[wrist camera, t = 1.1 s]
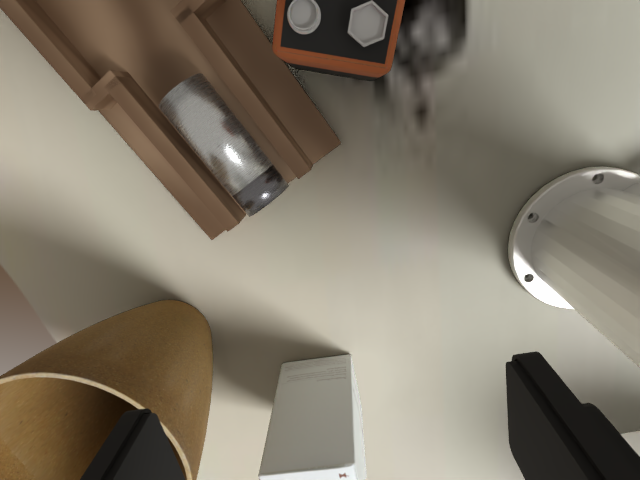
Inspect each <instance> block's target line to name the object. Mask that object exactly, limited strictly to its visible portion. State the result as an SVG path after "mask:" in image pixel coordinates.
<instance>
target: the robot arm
mask: <svg viewBox="0 0 640 480" xmlns="http://www.w3.org/2000/svg"><path fill="white" fill-rule="evenodd" d="M593 176H594V177H593ZM530 214H531V216H530V217H528V216H529V215H530ZM508 257H509V262H510V266H511V269H512V272H513V273H514V275H515V277H516V279H517V281H518V282H519V283H520V284H521V285H522V286H523V287H524V289H525V290H527V291H528V292H529V293H530V294H531V295H532V296H533V297H535V298H536V299H538V300H540V301H542V302H544V303H546V304H549V305H552V306H555V307H560V308H568V309H575V310H576V311H577V312H578V313H579V314H580V315H581V316H582V317H584V318H585V319H586V320H587V321H588V322H589V323H590V324H591V325H593V326H594V327H595V328H596V329H597V330H598V331H599V332H600V333H601V334H603V335H604V336H605V337H606V338H607V339H608V340H609V341H610V342H611V343H613V344H614V345H615V346H616V347H617V348H618V349H619V350H620V351H622V352H623V353H624V354H625V355H626V356H627V357H628V358H629V359H630V360H632V361H633V362H634V363H635V364H636V365H637V366H638V367H639V368H640V175H638V174H636V173H634V172H631V171H627V170H624V169H620V168H613V167H605V166H601V167H587V168H583V169H579V170H575V171H572V172H569V173H567V174H564V175H562V176H560V177H557V178H556V179H554V180H553V181H551V182H549V183H548V184H546V185H545V186H543V187H542V188H541V189H540V190H539V191H537V192H536V193H535V194H534V195H533V196H532V197H531V198H530V199H529V200H528V202H527V203H526V204H525V205H524V206H523V207H522V209H521V211H520V212H519V214H518V216H517V218H516V219H515V221H514V224H513V227H512V229H511V232H510V236H509V243H508ZM506 384H507V407H508V430H509V444H510V448H511V451H512V454H513V456H514V458H515V460H516V462H517V464H518V466H519V468H520V470H521V472H522V474H523V476H524V478H525V480H640V457H639V455H638V454H637V453H636V452H635V451H634V450H633V448H632V447H631V446H630V445H629V444H628V443H627V441H626V440H625V439H624V438H623V437H622V436H621V434H620V433H619V432H618V431H617V430H616V429H615V427H614V426H613V425H612V424H611V423H610V422H609V420H608V419H607V418H606V417H605V416H604V415H603V414H602V412H601V411H600V410H599V409H598V408H597V407H596V406H594V405H592V404H591V403H585V404H581V403H580V401H579V400H578V399H577V398H576V397H575V395H574V394H573V393H572V392H571V390H570V389H569V388H568V387H567V386H566V384H565V383H564V382H563V381H562V379H561V378H560V377H559V376H558V375H557V373H556V372H555V371H554V370H553V368H552V367H551V366H550V365H549V364H548V362H547V361H546V360H545V359H544V357H543V356H542V355H541V354H540V353H539V352H530V353H523V354H516V355H513V357H512V361H511V362H506ZM80 480H186V479H185V477H184V475H183V472H182V470H181V468H180V466H179V463H178V461H177V459H176V457H175V454H174V452H173V450H172V448H171V445H170V443H169V441H168V438H167V436H166V434H165V432H164V429H163V427H162V425H161V423H160V420H159V418H158V416H157V414H155V413H152V412H151V410H150V409H148V408H145V409H138V410H131V411H126V412H125V413H124V414H123V415H122V416H121V417H120V419H119V420H118V422H117V424H116V425H115V427H114V428H113V430H112V431H111V433H110V434H109V436H108V437H107V439H106V440H105V442H104V443H103V445H102V446H101V448H100V449H99V451H98V453H97V454H96V456H95V457H94V459H93V460H92V462H91V463H90V465H89V466H88V468H87V469H86V471H85V472H84V474H83V475H82V477H81V479H80Z"/></svg>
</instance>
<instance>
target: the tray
mask: <svg viewBox="0 0 640 480" xmlns="http://www.w3.org/2000/svg"><path fill="white" fill-rule="evenodd" d="M0 8H1V9H2V10H3V11H4V13H5V14H6V15H7V16H8V17H9V18H10V19H11V21H12V22H13V23H14V24H15V25H16V26H17V27H18V28H19V30H20V31H21V32H22V33H23V34H24V35H25V36H26V38H27V39H28V40H29V41H30V42H31V43H32V44H33V46H34V47H35V48H36V49H37V50H38V51H39V52H40V53H41V55H42V56H43V57H44V58H45V59H46V60H47V61H48V63H49V64H50V65H51V66H52V67H53V68H54V69H55V70H56V72H57V73H58V74H59V75H60V76H61V77H62V78H63V80H64V81H65V82H66V83H67V84H68V85H69V86H70V87H71V89H72V90H73V91H74V92H75V93H76V94H77V95H78V97H79V98H80V99H81V100H82V101H83V102H84V103H85V105H86V106H87V107H88V108H89V109H90V110H98V111H99V112H100V113H101V114H102V115H103V116H104V118H105V119H106V120H107V121H108V122H109V123H110V124H111V125H112V127H113V128H114V129H115V130H116V131H117V132H118V133H119V135H120V136H121V137H122V138H123V139H124V140H125V141H126V143H127V144H128V145H129V146H130V147H131V148H132V149H133V151H134V152H135V153H136V154H137V155H138V156H139V157H140V159H141V160H142V161H143V162H144V163H145V164H146V165H147V167H148V168H149V169H150V170H151V171H152V172H153V173H154V175H155V176H156V177H157V178H158V179H159V180H160V181H161V183H162V184H163V185H164V186H165V187H166V188H167V189H168V191H169V192H170V193H171V194H172V195H173V196H174V197H175V199H176V200H177V201H178V202H179V203H180V204H181V205H182V207H183V208H184V209H185V210H186V211H187V212H188V213H189V215H190V216H191V217H192V218H193V219H194V220H195V221H196V223H197V224H198V225H199V226H200V227H201V228H202V229H203V231H204V232H205V233H206V234H207V235H208V236H209V237H210V239H211V240H213V239H214V238H215V237H217V236H218V235H219V234H221V233H222V232H223V231H225V230H227V231H229V230H231V229H232V228H233V227H235V226H236V225H237V224H239V223H240V221H241V220H242V219H243V218H244V216H245V215H246V212H245V211H244V210H243V209H242V208H241V206H240V205H239V204H238V203H237V202H236V200H235V199H234V198H233V197H232V196H231V194H230V193H229V192H228V191H227V189H226V188H225V187H224V186H223V185H222V183H221V182H220V181H219V180H218V179H217V177H216V176H215V175H214V174H213V173H212V171H211V170H210V169H209V168H208V166H207V165H206V164H205V163H204V162H203V160H202V159H201V158H200V157H199V156H198V154H197V153H196V152H195V151H194V150H193V148H192V147H191V146H190V145H189V144H188V142H187V141H186V140H185V139H184V137H183V136H182V135H181V134H180V133H179V131H178V130H177V129H176V128H175V127H174V125H173V124H172V123H171V122H170V121H169V119H168V118H167V117H166V116H165V115H164V113H163V112H162V111H161V110H160V108H159V104H160V102H161V100H162V99H163V98H164V97H165V96H166V95H167V94H168V93H169V92H170V91H171V90H172V89H173V88H174V87H176V86H177V85H178V84H180V83H181V82H182V81H184V80H186V79H187V78H189V77H191V76H193V75H196V74H199V73H202V74H203V75H204V76H205V77H206V79H207V80H208V81H209V82H210V84H211V85H212V86H213V88H214V89H215V90H216V91H217V93H218V94H219V95H220V97H221V98H222V99H223V100H224V102H225V103H226V104H227V106H228V107H229V108H230V110H231V111H232V112H233V113H234V115H235V116H236V117H237V119H238V120H239V121H240V122H241V124H242V125H243V126H244V128H245V129H246V130H247V132H248V133H249V134H250V135H251V137H252V138H253V139H254V141H255V142H256V143H257V144H258V146H259V147H260V148H261V150H262V151H263V152H264V153H265V155H266V156H267V157H268V159H269V160H270V161H271V163H272V164H273V165H274V166H275V168H276V169H277V170H278V172H279V173H280V174H281V175H282V177H283V178H284V179H285V181H286V182H287V183H289V182H290V181H292V180H293V179H294V178H296V177H297V178H298V179H299V178H301V177H302V176H303V175H305V174H306V173H307V172H309V171H310V170H311V168H312V166H313V164H314V163H316V162H317V161H318V160H320V159H321V158H322V157H324V156H325V155H326V154H328V153H329V152H330V151H332V150H333V149H334V148H336V147H337V146H338V145H340V144H341V141H340V140H339V139H338V137H337V136H336V134H335V133H334V132H333V130H332V129H331V127H330V126H329V124H328V123H327V122H326V120H325V119H324V117H323V116H322V115H321V113H320V112H319V110H318V109H317V108H316V106H315V105H314V103H313V102H312V100H311V99H310V98H309V96H308V95H307V93H306V92H305V91H304V89H303V88H302V86H301V85H300V83H299V82H298V81H297V79H296V78H295V76H294V75H293V74H292V72H291V71H290V69H289V68H288V66H287V65H286V64H285V62H284V61H283V60H282V59H280V58H279V57H277V56H276V55H275V54H274V52H273V50H272V44H271V42H270V41H269V40H268V38H267V37H266V35H265V34H264V33H263V31H262V30H261V28H260V27H259V25H258V24H257V23H256V21H255V20H254V18H253V17H252V16H251V14H250V13H249V11H248V10H247V8H246V7H245V6H244V4H243V3H242V1H241V0H0Z"/></svg>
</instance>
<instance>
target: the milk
mask: <svg viewBox="0 0 640 480" xmlns="http://www.w3.org/2000/svg"><path fill="white" fill-rule="evenodd" d="M621 436H622V437H623V438H624V439H625V440H626V441H627V443H628V444H629V445H630V446H631V447H632V448H633V450H634V451H635V452H636V453H637V454H638V455H639V457H640V431H635V432H629V433H622V434H621Z"/></svg>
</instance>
